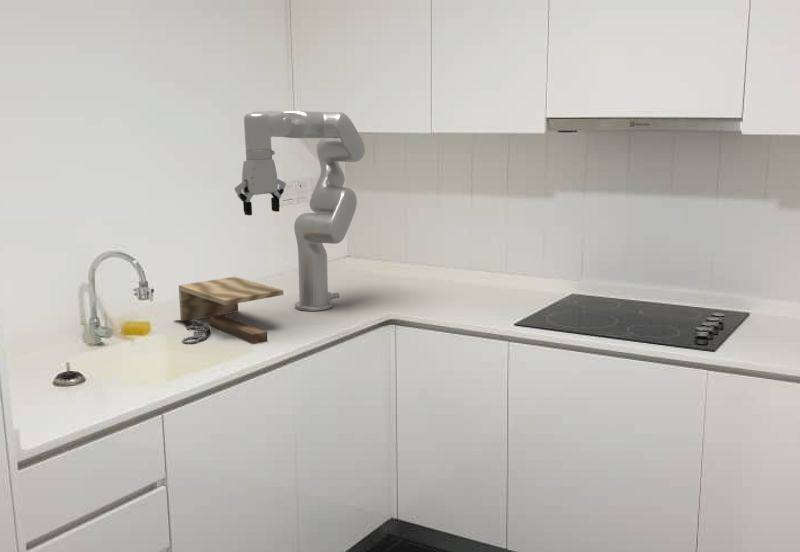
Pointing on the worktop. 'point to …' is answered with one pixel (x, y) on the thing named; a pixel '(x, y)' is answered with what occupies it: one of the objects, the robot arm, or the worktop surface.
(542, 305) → the worktop surface
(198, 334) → the grey crescent piece
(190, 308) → the riser
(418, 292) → the worktop surface
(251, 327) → the batten
